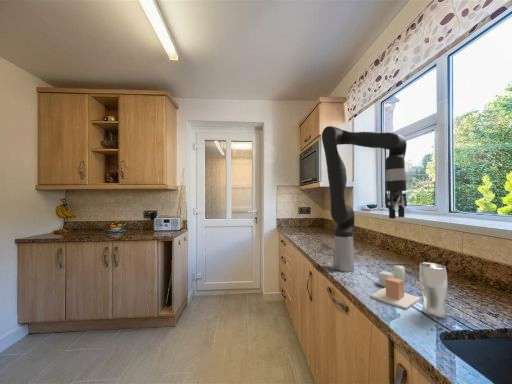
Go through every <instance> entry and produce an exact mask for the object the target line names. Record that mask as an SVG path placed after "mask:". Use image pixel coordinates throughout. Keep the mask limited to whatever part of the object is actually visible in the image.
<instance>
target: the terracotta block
mask: <svg viewBox="0 0 512 384" xmlns="http://www.w3.org/2000/svg"><path fill="white" fill-rule="evenodd" d="M385 284H386V286H385V287H386V296H388V297H391V298H394V299H397V300H400V299H402V298H403V297H404V293H405V282H404V280H402V279H398V278H394V276H393V277H389V278H387V279H385Z"/></svg>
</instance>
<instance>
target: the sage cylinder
mask: <svg viewBox="0 0 512 384" xmlns="http://www.w3.org/2000/svg"><path fill="white" fill-rule="evenodd" d="M405 274H406V271H405V266H403V265H393V277H394V278H398V279H402V280H404V283H405V282H406V275H405Z"/></svg>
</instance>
